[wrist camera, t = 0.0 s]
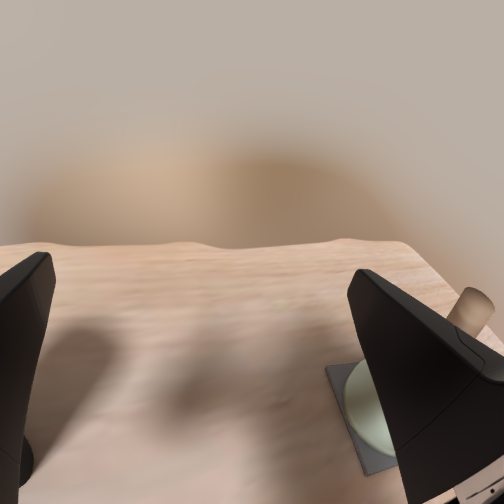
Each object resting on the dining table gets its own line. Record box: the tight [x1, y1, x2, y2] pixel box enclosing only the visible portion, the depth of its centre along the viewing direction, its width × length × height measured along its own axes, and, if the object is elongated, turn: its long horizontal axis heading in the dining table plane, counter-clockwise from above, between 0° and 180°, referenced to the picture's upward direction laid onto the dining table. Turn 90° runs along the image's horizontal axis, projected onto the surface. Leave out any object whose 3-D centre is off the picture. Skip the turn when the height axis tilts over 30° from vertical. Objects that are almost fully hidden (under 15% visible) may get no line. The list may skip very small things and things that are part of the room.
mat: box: [325, 362, 398, 476], centre depth 24 cm, size 11×11×1 cm
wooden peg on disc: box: [343, 287, 495, 458], centre depth 20 cm, size 11×11×12 cm
